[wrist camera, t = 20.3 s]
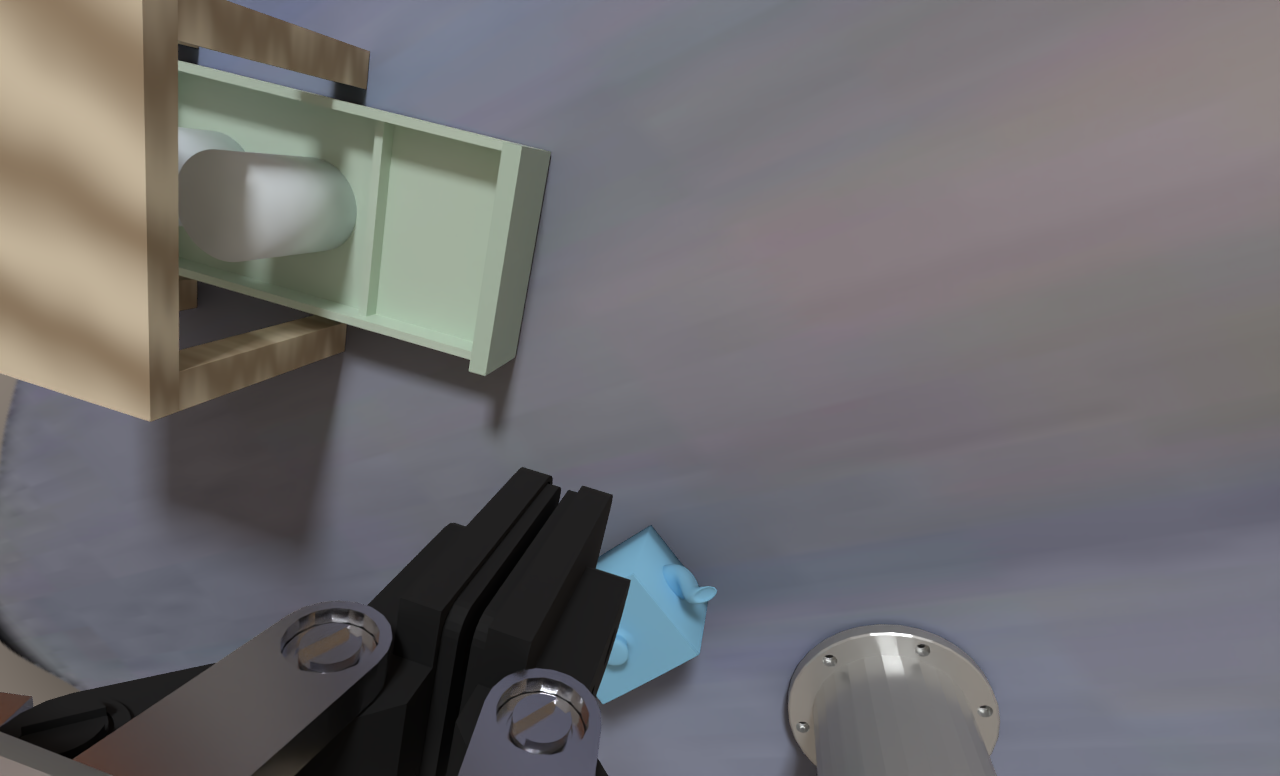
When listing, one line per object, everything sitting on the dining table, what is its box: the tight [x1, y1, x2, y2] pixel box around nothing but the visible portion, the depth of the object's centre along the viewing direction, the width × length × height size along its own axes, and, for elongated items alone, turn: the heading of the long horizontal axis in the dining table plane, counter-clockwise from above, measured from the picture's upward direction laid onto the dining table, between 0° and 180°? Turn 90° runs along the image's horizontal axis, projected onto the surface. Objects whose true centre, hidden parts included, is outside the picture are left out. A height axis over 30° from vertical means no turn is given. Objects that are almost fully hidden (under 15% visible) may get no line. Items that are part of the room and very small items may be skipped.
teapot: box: [596, 525, 717, 704], centre depth 39 cm, size 12×6×8 cm, turn 128°
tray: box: [178, 60, 551, 376], centre depth 37 cm, size 12×24×4 cm, turn 76°
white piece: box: [178, 149, 357, 262], centre depth 35 cm, size 5×5×7 cm
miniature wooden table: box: [0, 0, 370, 422], centre depth 34 cm, size 18×13×14 cm
